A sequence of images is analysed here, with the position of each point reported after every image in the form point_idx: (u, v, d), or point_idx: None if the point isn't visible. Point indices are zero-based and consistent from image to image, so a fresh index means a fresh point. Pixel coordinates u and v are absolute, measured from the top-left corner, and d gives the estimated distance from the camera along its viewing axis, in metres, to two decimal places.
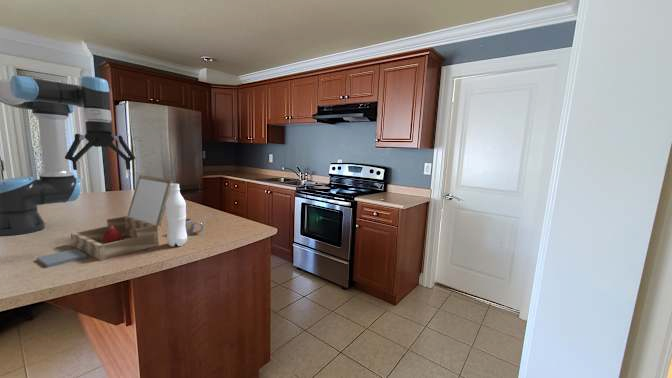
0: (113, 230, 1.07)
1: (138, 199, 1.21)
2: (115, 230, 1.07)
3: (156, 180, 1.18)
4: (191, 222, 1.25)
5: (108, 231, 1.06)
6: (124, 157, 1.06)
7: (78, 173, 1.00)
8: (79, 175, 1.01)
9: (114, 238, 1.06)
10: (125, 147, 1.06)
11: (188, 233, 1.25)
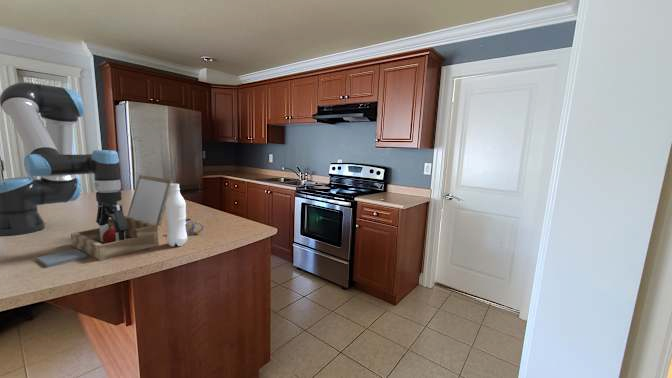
0: (113, 230, 1.07)
1: (138, 199, 1.21)
2: None
3: (156, 180, 1.18)
4: (191, 222, 1.25)
5: (108, 231, 1.06)
6: (116, 228, 1.03)
7: (100, 236, 1.10)
8: (101, 238, 1.10)
9: (114, 238, 1.06)
10: (116, 218, 1.02)
11: (188, 233, 1.25)
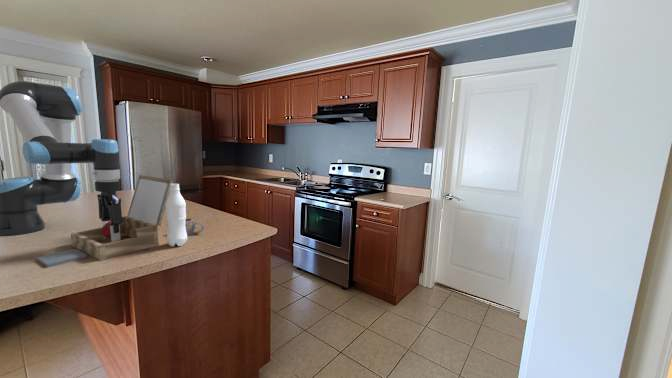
0: None
1: (138, 199, 1.21)
2: None
3: (156, 180, 1.18)
4: (192, 222, 1.25)
5: (107, 225, 1.06)
6: (111, 220, 1.04)
7: None
8: None
9: None
10: (113, 211, 1.03)
11: (189, 233, 1.25)
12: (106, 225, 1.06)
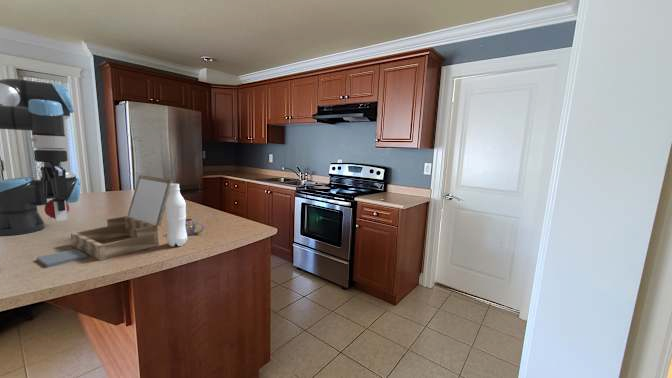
0: None
1: (138, 199, 1.21)
2: None
3: (156, 180, 1.18)
4: (192, 222, 1.26)
5: (51, 201, 0.91)
6: (54, 196, 0.89)
7: None
8: None
9: None
10: (55, 184, 0.87)
11: (189, 233, 1.25)
12: (50, 202, 0.90)
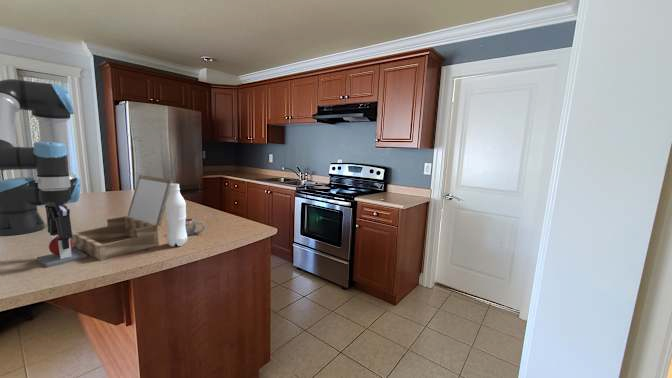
0: None
1: (138, 199, 1.21)
2: None
3: (156, 180, 1.18)
4: (193, 222, 1.26)
5: (55, 239, 0.92)
6: (59, 235, 0.91)
7: None
8: None
9: None
10: (60, 224, 0.89)
11: (190, 233, 1.25)
12: (54, 240, 0.92)
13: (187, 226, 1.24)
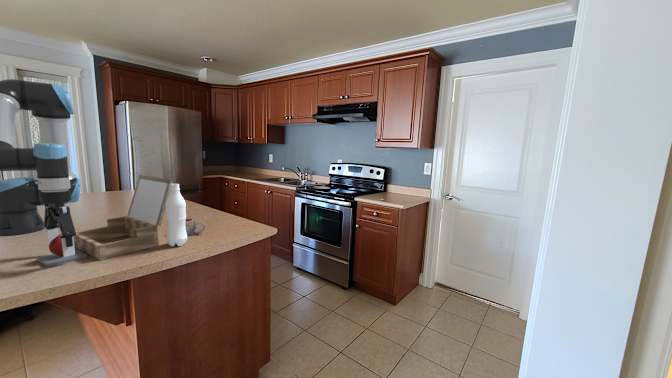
0: (61, 238, 0.93)
1: (138, 199, 1.21)
2: None
3: (156, 180, 1.18)
4: (193, 222, 1.26)
5: (55, 239, 0.92)
6: (62, 233, 0.89)
7: (48, 242, 0.97)
8: None
9: (61, 247, 0.93)
10: (61, 221, 0.88)
11: (190, 233, 1.25)
12: (54, 240, 0.92)
13: (187, 226, 1.24)
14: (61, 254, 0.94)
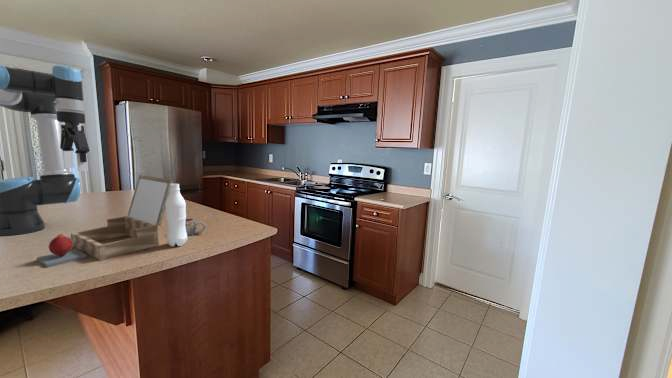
0: (61, 238, 0.93)
1: (138, 199, 1.21)
2: (64, 238, 0.94)
3: (156, 180, 1.18)
4: (193, 222, 1.26)
5: (55, 239, 0.92)
6: (77, 148, 0.99)
7: (64, 162, 1.06)
8: (65, 164, 1.07)
9: (61, 247, 0.93)
10: (76, 138, 0.98)
11: (190, 233, 1.25)
12: (54, 240, 0.92)
13: (188, 226, 1.24)
14: (61, 254, 0.94)
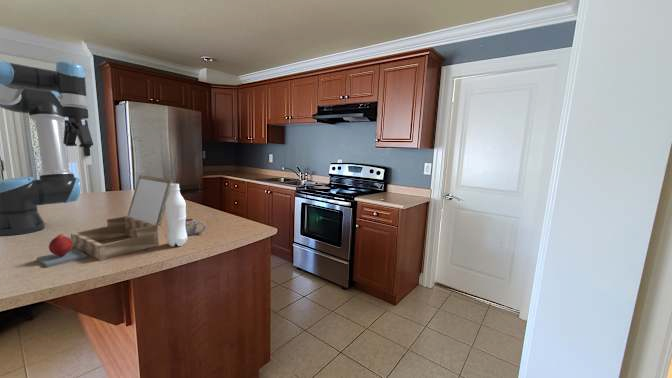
0: (61, 238, 0.93)
1: (138, 199, 1.21)
2: (64, 238, 0.94)
3: (156, 180, 1.18)
4: (194, 222, 1.26)
5: (55, 239, 0.92)
6: (81, 142, 1.01)
7: (67, 157, 1.08)
8: (68, 159, 1.08)
9: (61, 247, 0.93)
10: (80, 132, 1.00)
11: (190, 233, 1.25)
12: (54, 240, 0.92)
13: (188, 226, 1.24)
14: (61, 254, 0.94)
